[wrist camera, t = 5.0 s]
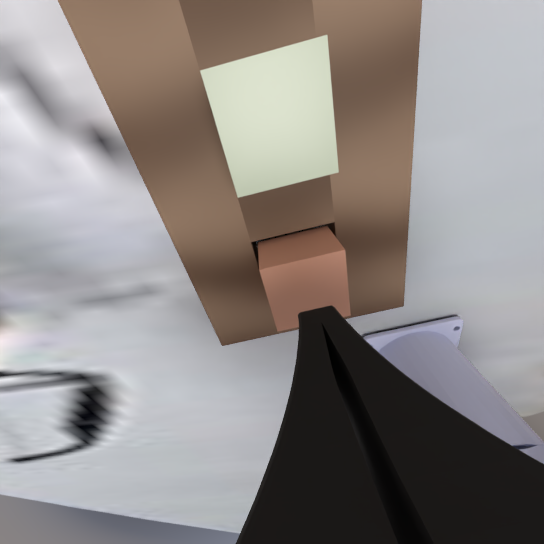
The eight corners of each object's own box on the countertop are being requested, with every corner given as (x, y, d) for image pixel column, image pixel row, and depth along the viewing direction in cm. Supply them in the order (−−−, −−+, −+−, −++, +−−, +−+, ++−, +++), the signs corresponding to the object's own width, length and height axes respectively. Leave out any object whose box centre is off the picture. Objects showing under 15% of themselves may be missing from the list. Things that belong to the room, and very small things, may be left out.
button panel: (385, 284, 18) (403, 306, 16) (225, 320, 19) (222, 345, 17) (393, -448, 6) (466, -742, 4) (-36, -284, 7) (-165, -467, 5)
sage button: (319, 161, 12) (338, 172, 9) (240, 182, 12) (237, 197, 9) (307, 58, 10) (327, 34, 7) (213, 84, 10) (199, 70, 7)
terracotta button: (333, 283, 15) (350, 315, 13) (273, 297, 15) (277, 331, 13) (326, 225, 13) (345, 249, 11) (257, 241, 13) (259, 269, 11)
